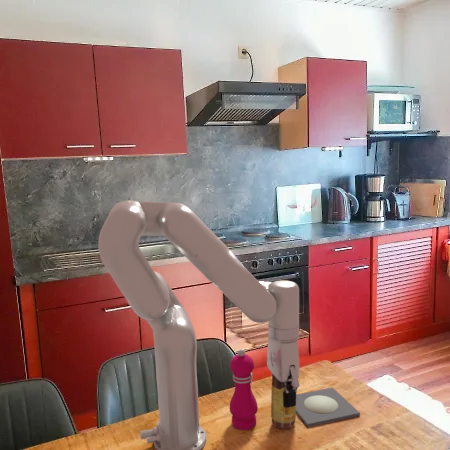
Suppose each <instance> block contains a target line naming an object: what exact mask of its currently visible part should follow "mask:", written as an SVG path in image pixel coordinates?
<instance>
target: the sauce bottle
mask: <svg viewBox="0 0 450 450" xmlns="http://www.w3.org/2000/svg"><path fill="white" fill-rule="evenodd" d="M280 349H281V348H280ZM289 378H291V377H290V376H288V378H287V379H289ZM291 384H292V381H290V382H287V385H288V386H289V385H291ZM284 391H285V389H284V383H283V382H280V381H279V380H278V379H277V378H276V377H275V376H274V375H273V374H272V373H271V397H270V398H271V403H270V407H271V408H270V417H271V424H272V425H273V426H274V427H276V428H278V429H280V430H283V429H284V430H287V429H290V428H293V427H294V426H295V423H296V418H297V414H296V406H292V407H287V408H285V407H284V406H283V392H284Z"/></svg>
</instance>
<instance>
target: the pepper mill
mask: <svg viewBox="0 0 450 450" xmlns="http://www.w3.org/2000/svg"><path fill="white" fill-rule="evenodd" d="M229 367H230V371H231V372H232V380H233V382H234V391H233V394H232V397H230V403H229V412H230V414H231V424H232V426H233V427H234V429H237V430H240V431H248V430H251V429H253V428H254V427H256V425H257V415H256V414H257V413H258V411H259V410H258V407H259V406H258V402H257V398H256V397H255V395H254V392H253V390H252V387H251V386H252V384H251V382H252V380H253V371H254V369H255V362H254V359H253V358H252V357H251V356H250V355H248V354H246V351H245V349H243V348H241V349H239V350H238V352H237V354H236V355H234V356H233V357H232V358H231V361H230V365H229Z"/></svg>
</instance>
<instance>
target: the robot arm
mask: <svg viewBox="0 0 450 450" xmlns="http://www.w3.org/2000/svg"><path fill="white" fill-rule="evenodd" d="M142 236H146V237H147V236H149V237H150V236H152V237H155V236H156V237H163V236H164V237H165V238H166V239H167V240H168V241H169V242H170V243H171V245H173V246H174V248H176V249H177V251H179V252H180V253H181V254H183V256H184V257H185V258H186V259H187V260H188V261H189V262H190V263H191V264H192V266H194V267H195V268H196V269H197V270H198V271H199V273H201V274H202V275H203V276H204V277H205V278H206V279H207V280H208V281H209V282H211V284H212V285H214V286H215V287H217V289H218V290H219V291H221V293H223V294H224V296H225V297H226V298H227V299H229V301H230V302H232V303H233V304H234V306H236V307H237V309H238V310H240V311H241V312H242V313H243V315H244V316H246V317H247V319H249V320H250V321H251V322H253V323H257V324H265V323H268V324H267V325H268V327H267V329H268V332H267V333H268V339H267V340H268V341H267V350H266V351H267V352H266V355H267V356H266V365H267V366H266V367H267V369H268V370H269V371H270V372H271V375H272V374H273V375H274V376H275V377H276V378H277V379H278V380H279V381H280V382H283V383H284V389H285V391H284V392H283V406H284V407H285V408H287V407H292V406H296V394H297V391H298V389H299V388H300V382H299V381H300V380H299V377H300V355H299V352H300V351H299V341H298V340H299V339H300V287H299V285H298V284H297V283H296V282H294V281H290V280H275V281H259V280H258V279H257V278H256V277H255V276H254V275H253V274H252V273H251V272H250V271H249V270H248V269H247V268H246V267H245V266H244V265H243V263H242V262H241V261H240V260H239V259H238V258H237V255H235V253H233V251H232V250H231V249H230V248H229V247H228V246H227V245H226V244H225V243H224V242H223V241H222V240H221V238H219V237H218V236H217V234H215V233H214V232H213V231H212V230H211V229H210V227H208V226H207V224H206V223H205V222H203V221H202V219H200V217H198V215H197V214H196V213H195V212H194V211H193V210H192V209H190V208H189V207H188V206H186V205H185V204H183V203H180V202H174V201H173V202H171V201H169V202H166V201H163V202H162V201H146V200H131V199H130V200H129V199H128V200H122V201H119V202H117V203H116V204H115V205H114V206H112V208H111V209H110V211H109V213H108V216H107V217H106V219H105V221H104V223H103V225H102V227H101V230H100V233H99V236H98V241H97V242H98V245H97V246H98V247H97V248H98V253H99V254H98V255H99V257H100V260H101V262H102V264H103V266H104V267H105V269H106V271H107V272H108V273H109V275H110V276H111V278H112V279H113V282H114V283H115V284H116V287H118V289H119V291H120V292H121V294H122V295H123V297H124V298H125V299H126V301H127V303H128V305H129V306H130V308H131V310H132V311H133V312H134V314H136V315H137V316H138V317H139V318H141V319H143V320H145V321H146V322H147V323H148V324H149V326H150V328H151V329H152V334H153V344H154V345H153V347H154V357H155V359H154V360H155V372H156V373H155V376H156V378H155V379H156V389H157V402H158V403H157V404H158V421H157V422H156V424H157V426H153V428H149V429H144V430H140V431H139V432H140V439H141V441H142V440H146V442H147V445H148V444H151V443H153V445H154V449H155V450H202V448H203V447H204V446H205V445H206V443H207V432H206V430H205V429H204V428H203V427H202V426H201V425H200V413H199V412H200V411H199V392H198V389H199V388H198V376H197V348H198V347H197V346H198V344H197V335H196V331H195V328H194V325H193V323H192V321H191V318H190V316H189V315H188V312H187V311H186V310H187V309H185V308H184V306H183V304H182V303H181V302H180V300H179V298H178V296H177V295H176V293H175V292H174V291H173V289H172V287H171V286H170V285H169V283H168V281H167V280H166V279H165V277H164V276H163V275H162V274H160V273H159V272H157V271H154V270H153V268H152V267H151V265H150V263H149V261H148V259H147V258H146V256H145V255H144V254H143V252H142V251H141V249H140V246H139V245H140V243H139V242H140V238H141V237H142ZM280 348H281V349H280ZM288 376H290V377H291V378H289V379H287V378H288ZM290 381H292V384H291V385H289V386H288V385H287V382H290Z"/></svg>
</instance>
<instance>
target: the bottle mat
mask: <svg viewBox="0 0 450 450" xmlns="http://www.w3.org/2000/svg"><path fill="white" fill-rule="evenodd" d="M296 416H298V417H299V419H301V421H302V422H303V423H304V424H305V426H306V427H307V428H309V427H315V426H319V425H322V424H328V423H333V422H336V421H341V420H345V419H349V418H351V419H352V418H355V417H359V416H361V412H360V411H359V410H357V409H356V407H354V406H353V404H351V403H350V402H349V401H348V400H347V399H346V398H345V397H343V395H341V394H340V392H338V391H337V390H336V389H335V388H334V387H328V388H321V389H318V390H313V391H308V392H304V393H303V392H302V393H296Z"/></svg>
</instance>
